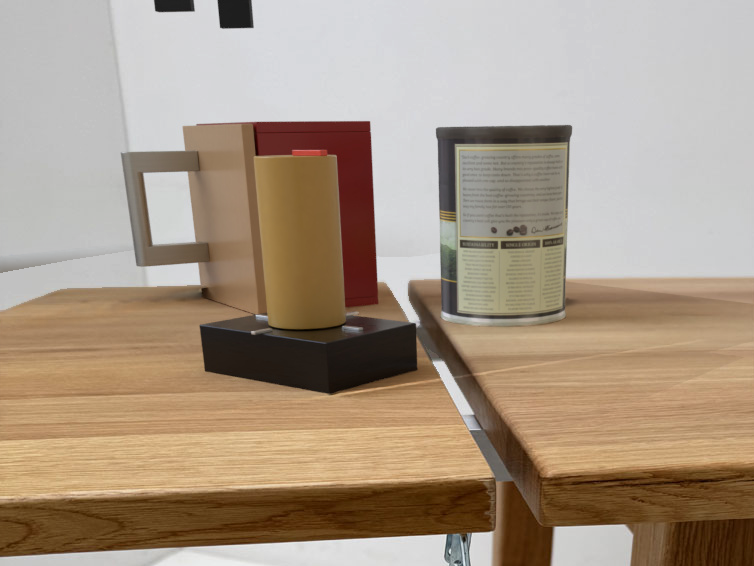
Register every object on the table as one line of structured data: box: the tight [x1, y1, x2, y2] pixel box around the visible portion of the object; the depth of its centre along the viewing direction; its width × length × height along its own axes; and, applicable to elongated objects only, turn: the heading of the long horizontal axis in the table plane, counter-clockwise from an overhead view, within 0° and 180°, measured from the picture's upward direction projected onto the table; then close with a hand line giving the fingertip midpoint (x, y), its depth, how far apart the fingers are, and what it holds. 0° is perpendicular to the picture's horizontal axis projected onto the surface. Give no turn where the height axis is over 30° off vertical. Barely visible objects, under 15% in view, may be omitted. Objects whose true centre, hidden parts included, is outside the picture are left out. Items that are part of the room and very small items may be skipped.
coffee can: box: [435, 124, 573, 328], centre depth 80 cm, size 10×10×14 cm
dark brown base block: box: [199, 310, 418, 396], centre depth 64 cm, size 11×9×3 cm
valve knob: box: [254, 150, 347, 329], centre depth 61 cm, size 5×5×10 cm
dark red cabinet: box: [195, 120, 379, 309], centre depth 89 cm, size 10×14×15 cm
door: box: [120, 124, 267, 315], centre depth 85 cm, size 7×14×14 cm, turn 33°
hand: (208, 21), depth 80 cm, fingers open, 13 cm apart
